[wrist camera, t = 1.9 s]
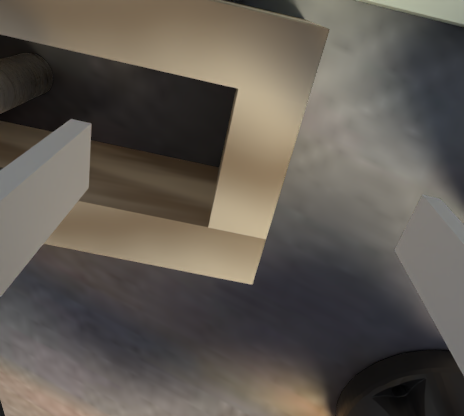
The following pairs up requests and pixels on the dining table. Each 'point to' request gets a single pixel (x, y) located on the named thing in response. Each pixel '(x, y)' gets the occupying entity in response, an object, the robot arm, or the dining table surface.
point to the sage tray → (426, 9)
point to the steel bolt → (23, 79)
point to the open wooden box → (172, 169)
